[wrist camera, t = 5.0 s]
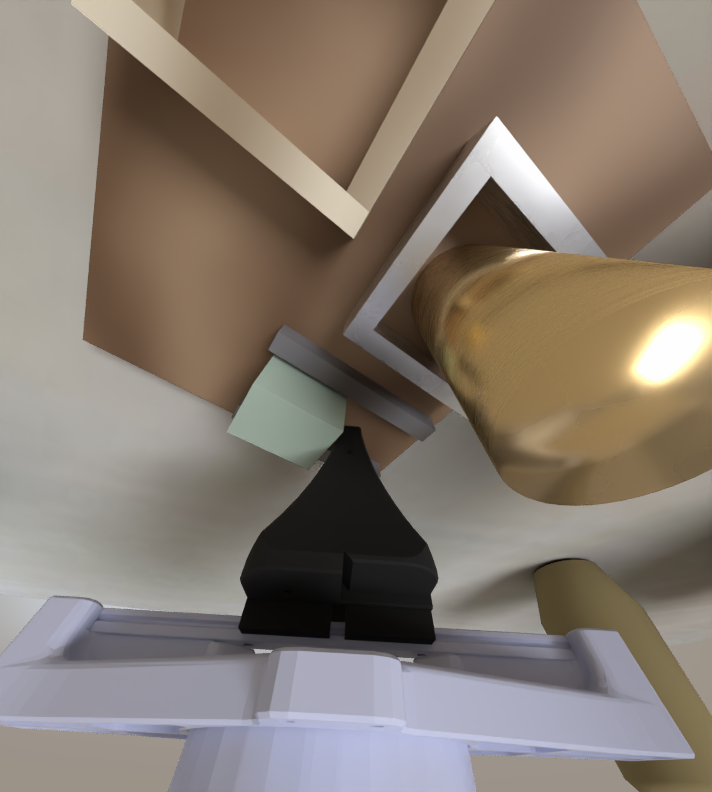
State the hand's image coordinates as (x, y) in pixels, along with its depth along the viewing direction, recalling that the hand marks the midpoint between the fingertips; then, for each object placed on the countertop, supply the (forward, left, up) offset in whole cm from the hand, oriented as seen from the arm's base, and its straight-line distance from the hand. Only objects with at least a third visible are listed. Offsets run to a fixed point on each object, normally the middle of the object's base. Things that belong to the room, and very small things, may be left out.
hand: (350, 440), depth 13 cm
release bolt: (+3, 0, -1) cm, 4 cm away
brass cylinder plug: (0, -8, -1) cm, 8 cm away
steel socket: (0, -8, -1) cm, 8 cm away
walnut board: (+5, -6, -2) cm, 8 cm away
